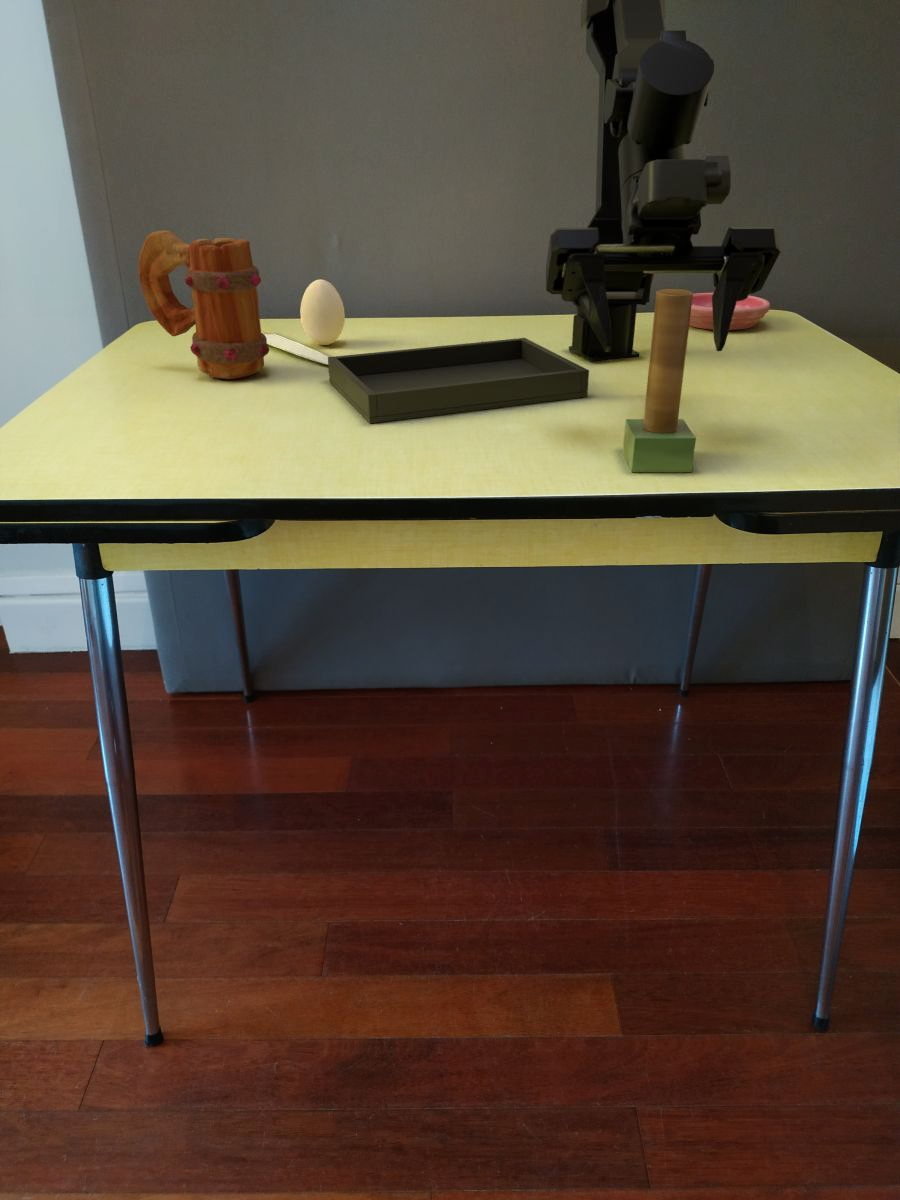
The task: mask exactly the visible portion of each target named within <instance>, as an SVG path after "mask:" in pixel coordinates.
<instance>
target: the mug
mask: <svg viewBox="0 0 900 1200" xmlns="http://www.w3.org/2000/svg"><path fill="white" fill-rule="evenodd" d="M181 265H182V266H186V267H187V268H186V270H185V279H184V282H185V285H187V286H188V288H190V289H191V295H192V303H193V307H187V306H185V305H183V304H182V303H181V302H180V301H179V299H178V298H177V296H176V295H175V294H174V293H175V292H174V290H173V287H172V284H171V281H170V276H169V275H170V274H171V273H172V272H173V271H175V270H176V269H177V268H179V267H180V266H181ZM137 266H138V279H139V284H140V287H141V291H142V295H143V297H144V299H145V303H146V304H147V307H148V309H149V311H150V313H151V314H152V315H153V317H154V319H155V320H156V321H157V322H158V324H159V325H160V326H161V327H162V328H163V329H164V330H165V331H166V333H168V334H169V335H170V336H171V337H177V336H180V335H183V334H186V333H187V332H189V331H190V330H191V329H192V328H193V327H194V326H195V332H194V333H193V334H192V337H191V341H192V343H191V345H190V347H189V348H190V351H191V353H192V354H193V355H195V357H196V358H197V359H196V360H197V367H198V369H199V370H200V371H201V372H202V373H203V374H205V375H208V376H209V377H212V378H213V379H220V380H221V379H224V380H236V379H242V378H247V377H249V376H252V375H254V374H256V373H258V372H259V371H261V370H262V369H263V368H264V366H265V357H266V356H267V355H268V354H269V352H270V346H268V344H267V338H266V336H265V335H264V334H262V333H261V331H262V327H261V319H260V308H259V307H260V306H259V304H260V303H259V293H258V290H257V289H258V288H257V287H258V286H259V285H260V284H261V282H262V279H261V277H260V270H259V269H258V267H257V266H255V265H254V263H253V257H252V252H251V245H250V241H249V240H247V239H246V238H241V239H235V238H231V237H216V238H215V239H214V240H210V239H209V238H200V239H195V240H193V241H191V243H189V244H188V243H185V242H184V241H183V240H181V239H180V238H179V237H178V236H177V235H175V233H174V232H173V231H170V230H168V229H164V230H157V231H153V232H151V233H149V234H148V235H147V236H146V239H145V241H144V242H143V244H142V247H141V249H140V253H139V258H138V263H137Z"/></svg>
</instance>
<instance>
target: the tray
mask: <svg viewBox="0 0 900 1200" xmlns="http://www.w3.org/2000/svg"><path fill="white" fill-rule="evenodd" d="M327 366H328V381H329V383H330V384H331V386H332V387H334V389H335V390H336V391H338V392H339V394H340V395H341V396H342V397H343V398H344V399H345V400H346V401H347V402H348V403H349V404H350V405H351V406H352V407H353V409H355V410H356V411H357V413H358V414H360V415H361V416H362V418H364V419H365V420H366V422H367V423H368V424H378V423H379V424H380V423H385V422H386V423H387V422H395V421H402V420H410V419H420V418H426V417H427V418H428V417H434V416H444V415H449V414H458V413H467V412H475V411H482V410H491V409H499V408H507V407H516V406H522V405H523V406H524V405H532V404H538V403H539V404H540V403H547V402H556V401H564V400H571V399H579V398H581V399H582V398H587V397H588V391H589V380H590V379H589V377H590V369H587V368H585V367H583V366H581V365H580V364H578V363H576V362H574V361H571V360H569V359H568V358H565V357H563V356H562V355H560V354H558V353H556V352H554V351H552V350H550V349H548V348H546V347H544V346H542V345H540V344H538V343H536V342H534V341H532V340H530V339H528V338H526V337H519V338H509V339H508V338H507V339H499V340H489V341H478V342H466V343H457V344H456V343H455V344H447V345H438V346H428V347H427V346H426V347H418V348H417V347H416V348H407V349H396V350H386V351H377V352H375V351H374V352H366V353H357V354H346V355H335V356H328V365H327Z"/></svg>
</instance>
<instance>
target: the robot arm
mask: <svg viewBox="0 0 900 1200" xmlns="http://www.w3.org/2000/svg"><path fill="white" fill-rule="evenodd" d="M666 6H667V0H581V8H580V29H581V30H585V52H586V54H587V56H588V58H589V60H590V62H591V63H592V66H593V67H594V69H595V70H596V72H597V74H598V76H599V78H598V82H599V83H598V84H599V85H598V106H597V107H598V110H597V140H596V141H597V142H596V143H597V144H596V145H597V146H596V147H597V148H596V176H595V177H596V179H595V211H594V215H593V217H592V218H591V220H590V222H589V224H588V225H587V226H586V227H556V228H555V230H553V232H552V233H551V234H550V235H549V241H548V249H547V256H546V265H545V291H546V292H548V293H549V294H551V295H561V300H562V301H564V302H568V303H569V302H571V303H572V305H573V306H575V307H576V308H577V309H576V314H574V316H573V321H572V323H573V324H572V338H571V345H569V346H568V351H569V352H571V353H573V354H575V355H577V356H579V357H581V358H583V359H585V360H588V361H590V362H593V363H599V362H606V361H607V362H608V361H617V360H626V359H634V358H639V357H640V356H641V352H639V351H637V350H635V349H634V343H635V342H634V341H635V329H636V321H637V320H636V319H637V309H638V305H640V306H647V303H650V298H651V289H652V284H653V280H654V276H655V274H712V278H713V287H714V288H715V289H714V291H713V292H712V293H713V296H712V309H713V330H712V331H713V341H714V346H715V350H716V352H722V351H723V349H724V347H725V345H726V341H727V338H728V335H729V332H730V330H729V328H730V324H731V320H732V317H733V313H734V309H735V306H736V302H737V301H743V300H745V299H746V298H747V297H748V296H750V294H751V295H753V294H755V293H758V292H760V291H761V290H762V289H763V287H764V285H765V283H766V282H767V280H768V278H769V276H770V274H771V272H772V269H773V268H774V266H775V264H776V262H777V260H778V259H779V256H780V254H781V245H780V236H779V233H777V231H776V230H775V228H774V227H771V226H729V227H728V228H727V230H726V233H725V235H724V237H723V240H722V243H721V245H695V246H694V245H693V243H694V242H693V235H699V233H700V230H701V227H702V216H701V212H702V210H703V209H704V208H705V207H706V206H707V205H722V204H723V203H724V201H725V200H726V199H727V197H728V196H729V195H730V192H731V188H732V187H731V185H732V170H731V162H730V157H729V156H728V155H707V156H706V157H705V159H700V158H699V159H698V158H689V159H688V158H687V157H686V147H685V146H686V145H690V144H691V143H692V141H693V140H694V137H695V135H696V132H697V129H698V127H699V122H700V119H701V115H702V113H703V110H704V107H707V106H708V99H709V90H710V86H711V83H712V80H713V76H714V73H715V72H714V71H715V63H714V59H713V58H711V57H710V56H711V55H709V53H708V52H707V51H706V50H705V48H703V47H702V46H700V45H698V44H697V43H694V42H692V41H690V40H687V30H686V29H685V30H684V29H683V30H682V29H681V30H678V29H677V30H676V29H675V30H666V24H665V23H666V22H665V18H666ZM686 158H687V159H686Z"/></svg>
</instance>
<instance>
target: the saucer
mask: <svg viewBox="0 0 900 1200" xmlns="http://www.w3.org/2000/svg"><path fill="white" fill-rule="evenodd" d="M713 293H714V292H698V293H697V292H696V293H693V298H692V307H691V315H690V324H689V327H692V328H693V327H694V328H698V329H703V330H704V329H705V330H712V331H714V330H713V309H712V296H713ZM770 307H771V303H770V302H769V301H768V299H765V298H762V297H758V296H754V295H749V296H748V297H747V298H746V299H745V300H743V301H737V302H736V306H735V309H734V313H733V317H732V320H731V324H730V328H729V331H739V330H747V329H751V328H753V327H754V326H756V324H757V323H758V321H759V320H762V319H763V318H764V317H765V315H766V314H768V312H769V311H770Z"/></svg>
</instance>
